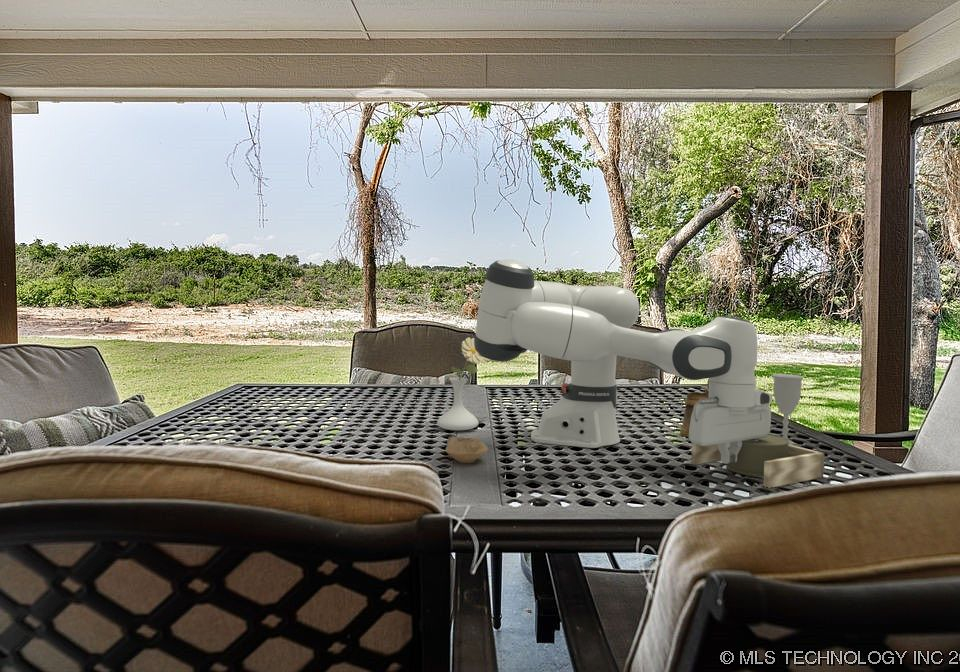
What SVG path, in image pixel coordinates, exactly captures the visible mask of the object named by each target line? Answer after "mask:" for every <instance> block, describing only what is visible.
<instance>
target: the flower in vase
mask: <svg viewBox="0 0 960 672" xmlns="http://www.w3.org/2000/svg"><path fill="white" fill-rule="evenodd" d="M461 351H462V352H461V354H462V355H463V357H464V358H465V359H466V361H465V364H464V367H463V369H462V370H461V369H459V368H457V367H455V366H453V365H452V366H451V371H452V372H453V373H457V374H459V376H457V377H449V378H448V379H449V381H450V383H451V385H452V389H453V403H452V406H451V407H450V408H449V409H448V410H447V411H446V412H444V413H443V414H442V415H441V416H440V417H439V418H438V419H437V421H436V424H437V426H438V427H439V428H441V429H444V430H449V431H469V430H472V429H474V428H476V427H478V426H479V424H480V423H479V420H478V419H477V417H476V416H475V415H474V414H473V413H471V412H470V411H469V410H468V409H466V408H465V406H464V404H463V391H464V387H465V383H466V382H467V381H468V378H467V377H462V375H463V374H464V372H465V370H466V371H467V372H468V373H469V374H475V373H477V372H479V369H478V368H477V366H475V365H479V364H480V362H483V361H484V360H485V358H484V357H482V356H481V355H480V354H479V353H478V352H477V351H476V350H475V346H474V337H473V338H471V337H467V338H465V340H463V341H462V342H461ZM468 362H470V363H472V364H468ZM473 364H475V365H473Z"/></svg>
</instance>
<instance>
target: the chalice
mask: <svg viewBox="0 0 960 672" xmlns="http://www.w3.org/2000/svg"><path fill="white" fill-rule="evenodd" d="M772 377H773V395H772V396H773V397H774V401H775V404H776V407H777V408H778V411H779V413H781V414H782V415H783V420H782V421H781V423H782V425H783V427H782V428H781V431H782V437H783V438H785V439H787V440H788V441H789V445H793V446H795V445H794V442H793V440H790V439H789V437H788V433H789V431H790V429H789V427H788V425H789V423H790V421H789V415H791V414H793V412H794V411H795V409H796V408H797V406H798V405H799V402H800V400H801V395H802V381H803V379H804V376H803V375H797V374H787V373H773V374H772Z"/></svg>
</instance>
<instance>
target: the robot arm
mask: <svg viewBox="0 0 960 672" xmlns="http://www.w3.org/2000/svg"><path fill="white" fill-rule="evenodd" d="M484 278H485V280H484V282H483V283H484V284H483V286H482V289H481V292H480V296H479V301H478V305H477V306H478V307H477V308H478V309H477V317H476V328H475V334H474V335H473V338H474V346H475V350H476V351H477V352H478V353H479V354H480V355H481V356H482V357H484V359H487V360H488V361H489V360H490V361H492V362H503V363H504V362H510V361H513V360H515V359H517V358H518V357H520V355H521V354H524V353H526V352H528V351H531V352H533V353H536V354H539V355H543V356H547V357H550V358H554V359H559V360H560V359H561V360H565V361H570V362H571V365H570V366H571V368H570V369H571V370H570V371H571V372H570V383H568V382H563V383H562V384H561V387H560V388H561V391H562V398H561V399H560V400H558V401H556V402H555V403H554V404H553V405H551V406H550V407H549V408H547V409H545V411H544V412H543V414H541V417H540V421H539V427H537V428H534V429H533V430H532V431H530V439H531V440H532V441H533V442H535V443H539V444H548V445H550V444H551V445H559V446H569V447H570V446H571V447H578V448H589V449H595V448H596V449H597V448H600V447H603V446H604V447H605V446H611V445H615V444H619V443H620V442H621V438H620V435H619V430H618V429H619V428H618V425H617V424H618V423H617V413H616V407H617V405H618V389H617V388H618V386H617V385H616V371H617V357H622V358H629V359H635V360H640V361H644V362H647V363H649V364H651V365H652V366H654V367H656V368H657V369H658V370H659V371H661V372H663V373H666V374H669V375H674V376H676V377H680V378H681V379H686V380H689V381H699V380H706V379H709V398H701V399H699V401H698V402H697V403H696V404H695V405H694V409H693V412H692V416H691V421H690V428H689V437H688V439H689V441H690V442H691V444H692V443H694V444H697V445H701V446H707V445H715V444H717V447H718V449H719V451H720V454H721V461H720V462H721V463H723V464H725V465H726V464H728V463H735V462H737V454H738V453H739V451H740V449H741V447H742V441H744V440H751V439H759V438H766V437H767V436H768V434H770V432H771V423H772V409H771V407H770V405H771V404H772V402H773V395H772V393H769V392H766V391H764V390H761V389H759V388H756V386H757V380H756V375H755V370H756V369H755V368H756V365H757V363H758V335H757V334H758V333H757V329H756V327H755V326H756V325H754V324H753V322H752V321H750V320H748V319H744V318H740V317H734V316H728V315H719V316H716V317H715V318H714V319H713V320H711V321H710V322H708V323H706V324H704V325H702V326H701V327H698V328H696V329H692V330H690V331H686V330H683V329H681V328H667V329H663V330H660V331H655V332H652V331H651V332H650V331H643V330H638V329H633V328H631V327H632V326H633V325H634V324H636V322H637V320H638V317H639V314H640V302H639V300H638V297H637V295H636V294H635V293H634V291H631V290H630V289H628V288H624V287H620V286H617V285H589V286H587V285H571V284H566V283H563V282H555V281H544V280H535V274H534V272H533V270H532V268H531V267H529V266H528V265H526V264H524V263H523V262H521V261H518V260H514V259H502V260H496V261H493V262H492V263H491V264H490V265H489V266H488V268H487V270H486V273H485V276H484ZM699 403H700V404H699ZM730 444H731V445H730ZM729 447H730V448H729ZM728 448H729V450H728Z"/></svg>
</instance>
